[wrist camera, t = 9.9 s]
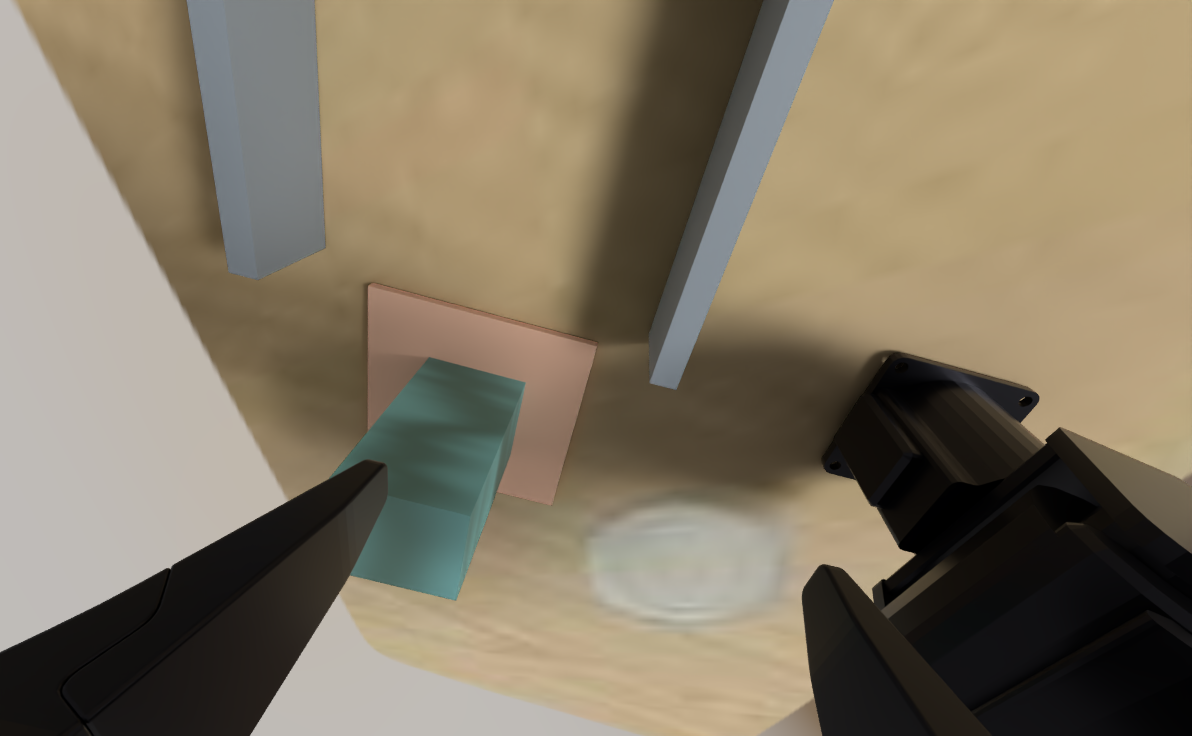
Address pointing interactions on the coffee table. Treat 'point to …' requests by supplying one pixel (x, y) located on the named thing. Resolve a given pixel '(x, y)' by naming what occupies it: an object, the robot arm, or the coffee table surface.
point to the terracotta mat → (490, 344)
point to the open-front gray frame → (294, 167)
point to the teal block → (437, 474)
